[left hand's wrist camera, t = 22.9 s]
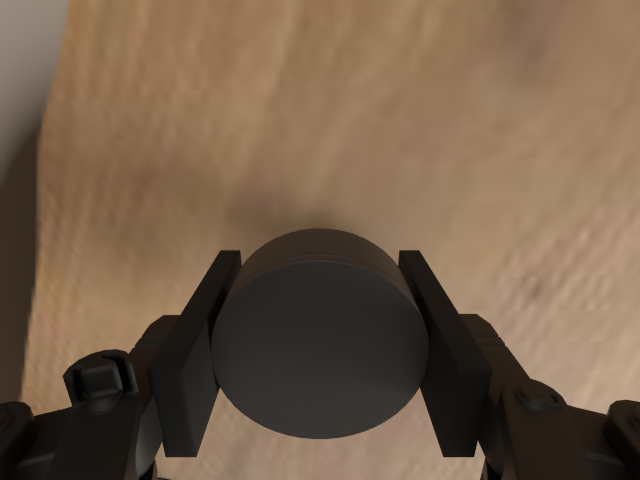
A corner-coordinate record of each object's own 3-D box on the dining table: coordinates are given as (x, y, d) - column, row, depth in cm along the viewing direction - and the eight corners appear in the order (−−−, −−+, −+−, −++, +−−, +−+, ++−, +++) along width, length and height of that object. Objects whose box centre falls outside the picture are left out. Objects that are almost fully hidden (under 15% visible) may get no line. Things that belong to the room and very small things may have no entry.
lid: (205, 246, 12) (178, 283, 9) (399, 210, 11) (419, 240, 9) (255, 394, 14) (243, 452, 12) (419, 369, 13) (438, 423, 11)
